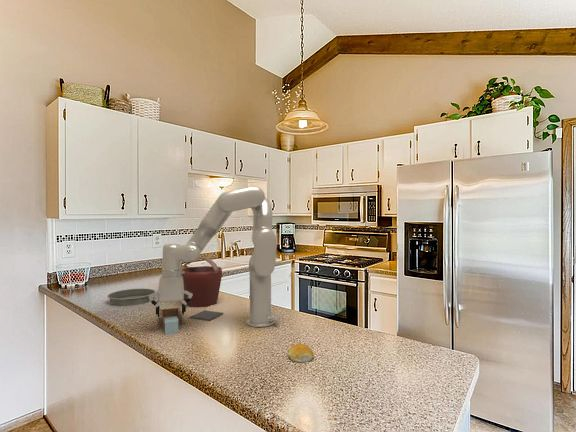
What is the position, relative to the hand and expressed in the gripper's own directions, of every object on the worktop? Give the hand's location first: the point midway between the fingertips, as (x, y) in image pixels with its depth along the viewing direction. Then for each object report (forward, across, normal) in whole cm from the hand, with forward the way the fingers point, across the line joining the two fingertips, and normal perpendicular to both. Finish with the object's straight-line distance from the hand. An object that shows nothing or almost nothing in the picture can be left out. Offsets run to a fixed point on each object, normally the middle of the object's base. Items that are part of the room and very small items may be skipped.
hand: (170, 314), depth 137 cm
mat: (+6, -17, -14) cm, 23 cm away
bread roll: (+6, -39, +45) cm, 60 cm away
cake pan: (+7, +18, -60) cm, 63 cm away
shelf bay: (+6, -1, -13) cm, 14 cm away
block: (+6, 0, +1) cm, 7 cm away
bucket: (+6, -18, -39) cm, 44 cm away
